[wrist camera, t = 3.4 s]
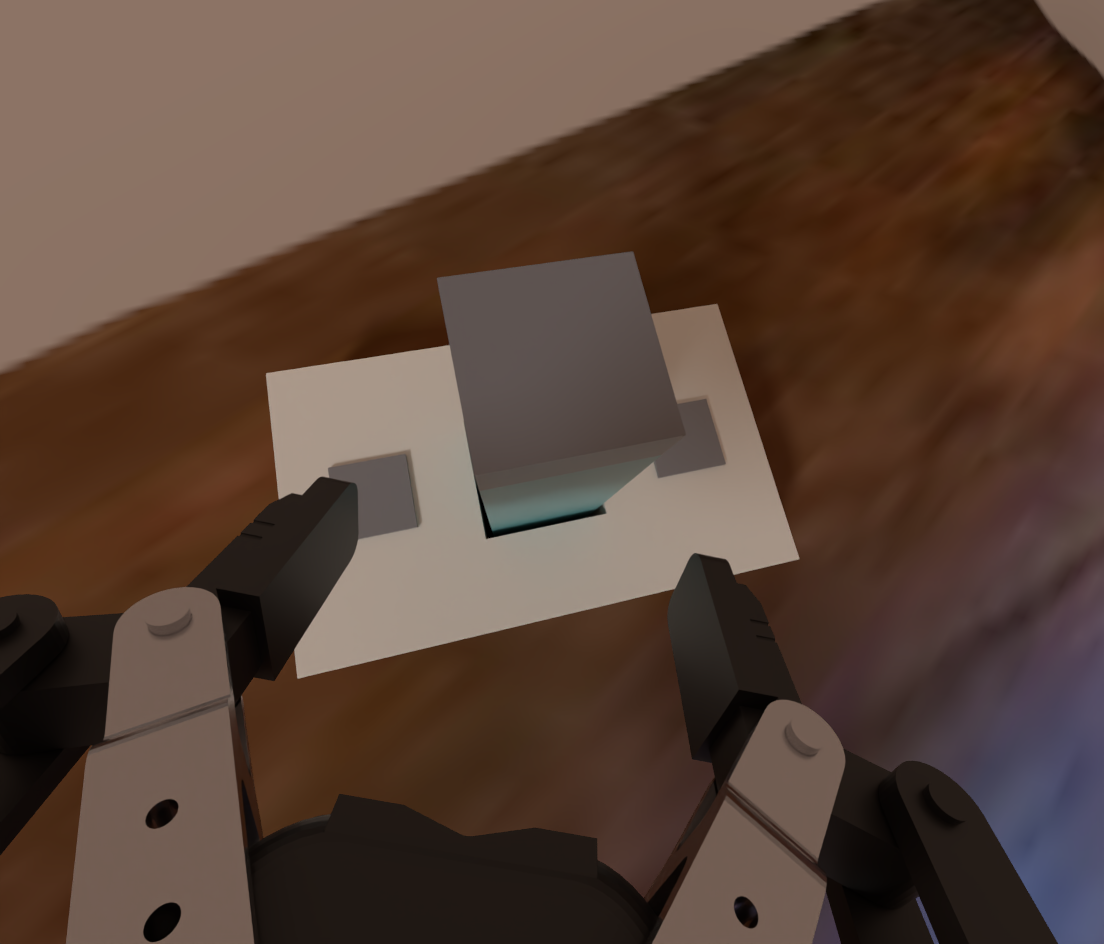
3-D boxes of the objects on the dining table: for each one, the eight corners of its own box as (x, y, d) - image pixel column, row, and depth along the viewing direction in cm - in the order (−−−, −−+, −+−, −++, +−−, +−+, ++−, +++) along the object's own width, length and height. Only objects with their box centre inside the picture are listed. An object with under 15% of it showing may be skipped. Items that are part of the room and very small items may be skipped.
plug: (563, 436, 24) (633, 251, 11) (583, 520, 23) (686, 434, 10) (477, 452, 24) (436, 278, 10) (494, 538, 23) (474, 475, 9)
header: (686, 345, 26) (719, 301, 22) (751, 562, 24) (802, 558, 20) (305, 408, 23) (263, 371, 19) (336, 660, 21) (294, 679, 17)
